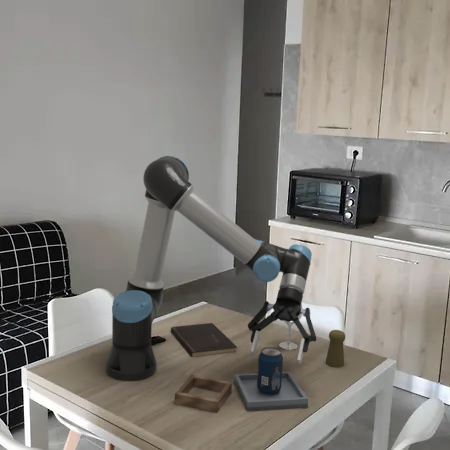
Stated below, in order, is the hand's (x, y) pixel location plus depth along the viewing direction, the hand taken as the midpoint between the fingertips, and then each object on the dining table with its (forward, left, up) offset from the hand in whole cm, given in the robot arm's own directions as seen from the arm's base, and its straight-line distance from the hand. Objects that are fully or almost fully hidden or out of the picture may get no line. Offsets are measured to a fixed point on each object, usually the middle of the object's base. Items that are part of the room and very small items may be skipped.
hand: (275, 357), depth 167 cm
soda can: (-2, -1, -10) cm, 10 cm away
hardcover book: (-14, +39, -11) cm, 43 cm away
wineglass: (+15, +32, -11) cm, 37 cm away
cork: (+26, +17, -11) cm, 33 cm away
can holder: (-20, -1, -11) cm, 23 cm away
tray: (-1, -1, -11) cm, 11 cm away
